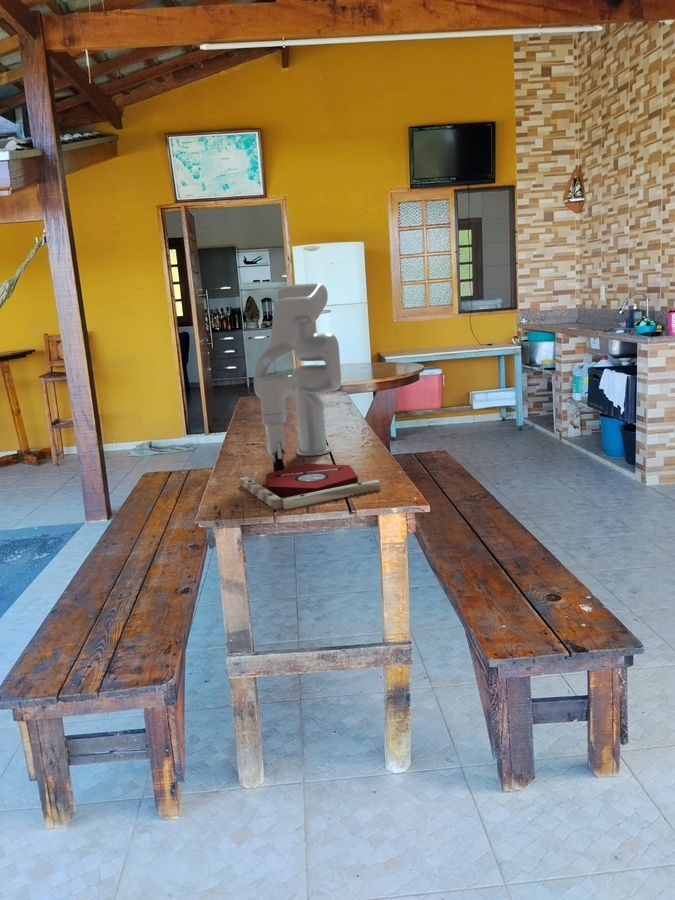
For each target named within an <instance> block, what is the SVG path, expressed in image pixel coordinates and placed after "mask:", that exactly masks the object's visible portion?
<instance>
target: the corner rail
mask: <svg viewBox="0 0 675 900" xmlns="http://www.w3.org/2000/svg"><path fill="white" fill-rule="evenodd" d="M239 483H240V487H241V486H242V487H241V488H243V487H244V488H245V489H244V488H243V489H244V490H246V489H247V490H248V491H247V490H246V491H247V492H249V491H250V492H251V493H252V494H251V493H250V492H249V493H250V494H251V495H253V494H254V495H255V496H254V495H253V496H254V497H256V496H257V497H258V498H257V497H256V498H257V499H259V500H260V499H261V501H262V502H263V501H264V502H263V503H265V504H266V505H267V504H268V506H269V507H270V506H271V508H272V509H273V510H280V509H283V510H288V509H289V510H290V509H294V508H299V507H304V506H308V505H314V504H317V503H322V502H327V501H328V502H329V501H332V500H336V499H342V498H346V497H351V496H350V495H352V496H355V495H354V494H357V495H360V494H359V493H361V494H364V493H363V492H366V493H369V492H368V491H371V492H374V491H375V490H376V491H379V490H381V481H380V480H378V479H372V480H366V481H361V482H359V481H358V483H356V484H351V485H346V486H341V487H336V488H331V489H326V490H321V491H316V492H311V493H307V494H300V495H297V496H292V497H278V496H277V495H275V494H273V493H272V492H270V491H269V490H268V488H266V487H265V486H264V487H263V485H261V484H260V483H257V482H256V481H255V480H253V479H251V478H250V477H249V476H246V477H245V476H244V477H240V478H239Z"/></svg>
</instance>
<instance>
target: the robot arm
mask: <svg viewBox="0 0 675 900" xmlns="http://www.w3.org/2000/svg"><path fill="white" fill-rule="evenodd" d="M276 295H277V297H276V298H277V301H276V303H274V306H273V315H272V326H271V337H270V343H269V345H268V346H267V347H266V348H265V349H264V350H263V351H262V353H261V354H260V356H259V357H258V359H257V361H256V363H255V368H254V375H253V376H254V377H253V389H254V393H255V395H256V396H257V397H258V398H259V400H260V411H261V421H262V424H263V425H265V442H266V451H267V453H268V454H269V456H271V457H272V466H273V468H272V469H273V472H276V471H280V470H284V469H285V463H284V455H285V454H287V453H286V452H287V451H286V439H285V437H286V436H285V429H284V428H285V427H284V424H285V423H287V414H286V402H285V400H286V399H291V398H293V397H295V399H296V400H295V401H296V411H297V421H298V422H297V423H298V433H299V434H298V435H299V440H297V441H296V442H297V445H299V448H297V449H296V454H297V455H298V456H305V457H311V456H313V457H314V456H315V455H316V456H322V455H325V454H329V453H330V452H332V447H331V446H329V445H327V431H326V421H325V407H324V402H323V400H322V398H321V397H320V395H319V394H318V393H319V392H320V393H321V392H323V393H324V392H325V393H326V392H329V393H330V392H335V391H338V390H339V389H340V388H341V385H342V372H341V371H342V370H341V358H340V347H339V345H340V344H339V342H338V341H339V340H338V338H337V337H336V336H335V335H334V334H333V333H329V332H327V333H325V332H324V333H321V332H320V333H318V331H317V319H318V318H319V317H320V316H321V314H322V313H323V310H324V309H325V308H326V306H327V303H328V297H329V295H328V291H327V287H326V286H325V285H324V284H323V283H319V282H317V283H316V282H315V283H314V282H313V283H300V284H298V283H297V284H291V285H290V284H289V285H284V286H281V287H280V288H279V289H278V290H277V293H276ZM292 351H294V357H295V359H296V360H297V361H299V362H323V363H324V364H306V365H299V366H297V367H295V368H294V369H293V371H292V374H268V371H269V368H270V367H271V365H272V364H273V363H274V362H276V360H277V359H280V358H281V357H283V356H284V355H286V354H288V353H291V352H292Z"/></svg>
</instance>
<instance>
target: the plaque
mask: <svg viewBox="0 0 675 900" xmlns="http://www.w3.org/2000/svg"><path fill="white" fill-rule="evenodd" d="M265 478H266V486H268V487H267V490H269V491H270V492H272V493H273V494H275V495H277V496H278V497H280V498H287V497H292V496H297V495H300V494H307V493H311V492H316V491H321V490H326V489H331V488H336V487H341V486H346V485H351V484H356V483H359V477H358V475H357V474H356V471H354V469H353V468H352V466H351V465H350V464H323V463H321V464H318V463H315V464H314V463H305V464H304V463H303V464H301V465H296V466H293V467H288V468H284V470H280V471H276V472H274V471H272V472H270V473H269V472H268V473H266V474H265Z"/></svg>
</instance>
